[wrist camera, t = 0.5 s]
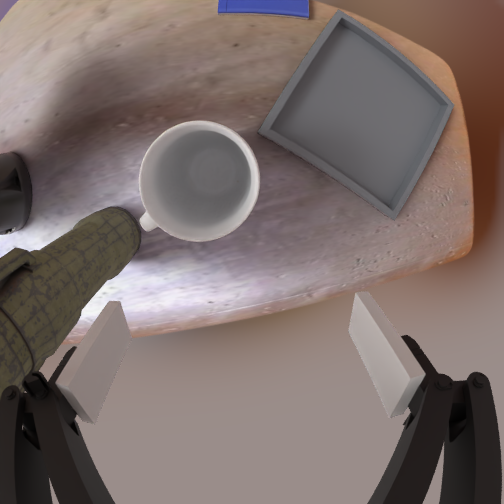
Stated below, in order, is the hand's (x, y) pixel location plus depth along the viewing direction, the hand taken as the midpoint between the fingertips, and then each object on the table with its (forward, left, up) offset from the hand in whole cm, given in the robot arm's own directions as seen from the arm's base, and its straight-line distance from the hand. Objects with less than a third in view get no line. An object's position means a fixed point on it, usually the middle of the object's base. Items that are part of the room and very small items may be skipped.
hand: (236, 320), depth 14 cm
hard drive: (-14, +30, -25) cm, 42 cm away
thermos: (-16, -12, -25) cm, 31 cm away
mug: (-7, +2, -25) cm, 25 cm away
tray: (+7, +21, -24) cm, 33 cm away
